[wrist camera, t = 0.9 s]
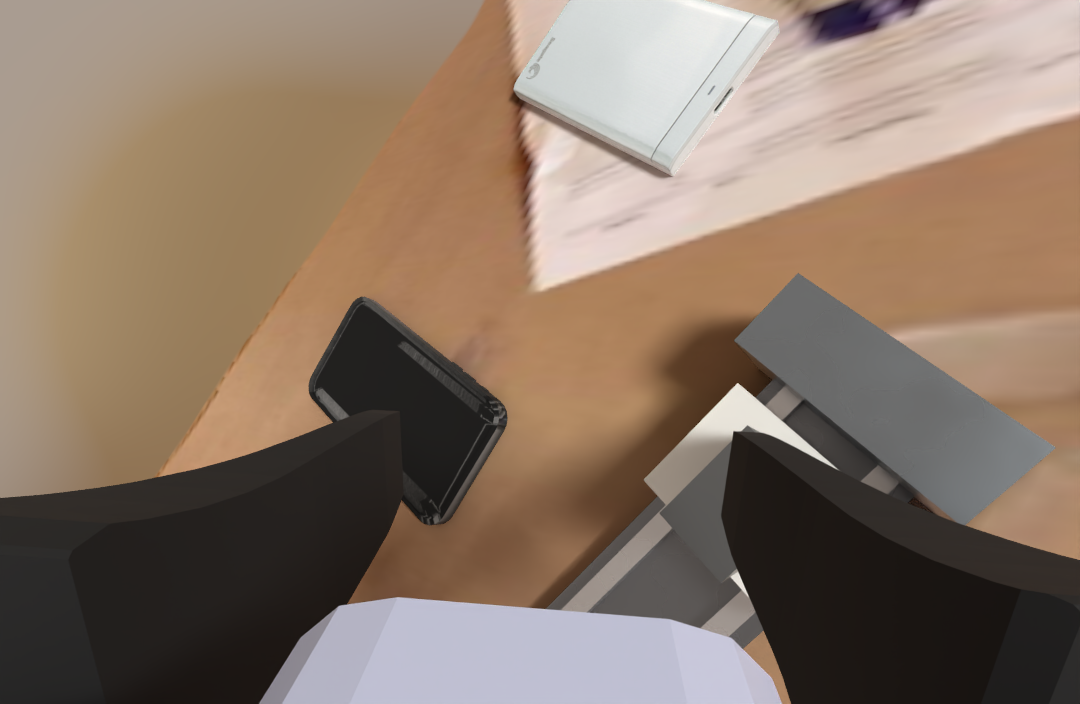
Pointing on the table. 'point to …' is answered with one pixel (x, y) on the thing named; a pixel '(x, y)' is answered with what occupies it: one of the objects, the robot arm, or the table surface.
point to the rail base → (824, 453)
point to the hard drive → (645, 71)
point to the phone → (411, 405)
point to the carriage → (713, 476)
